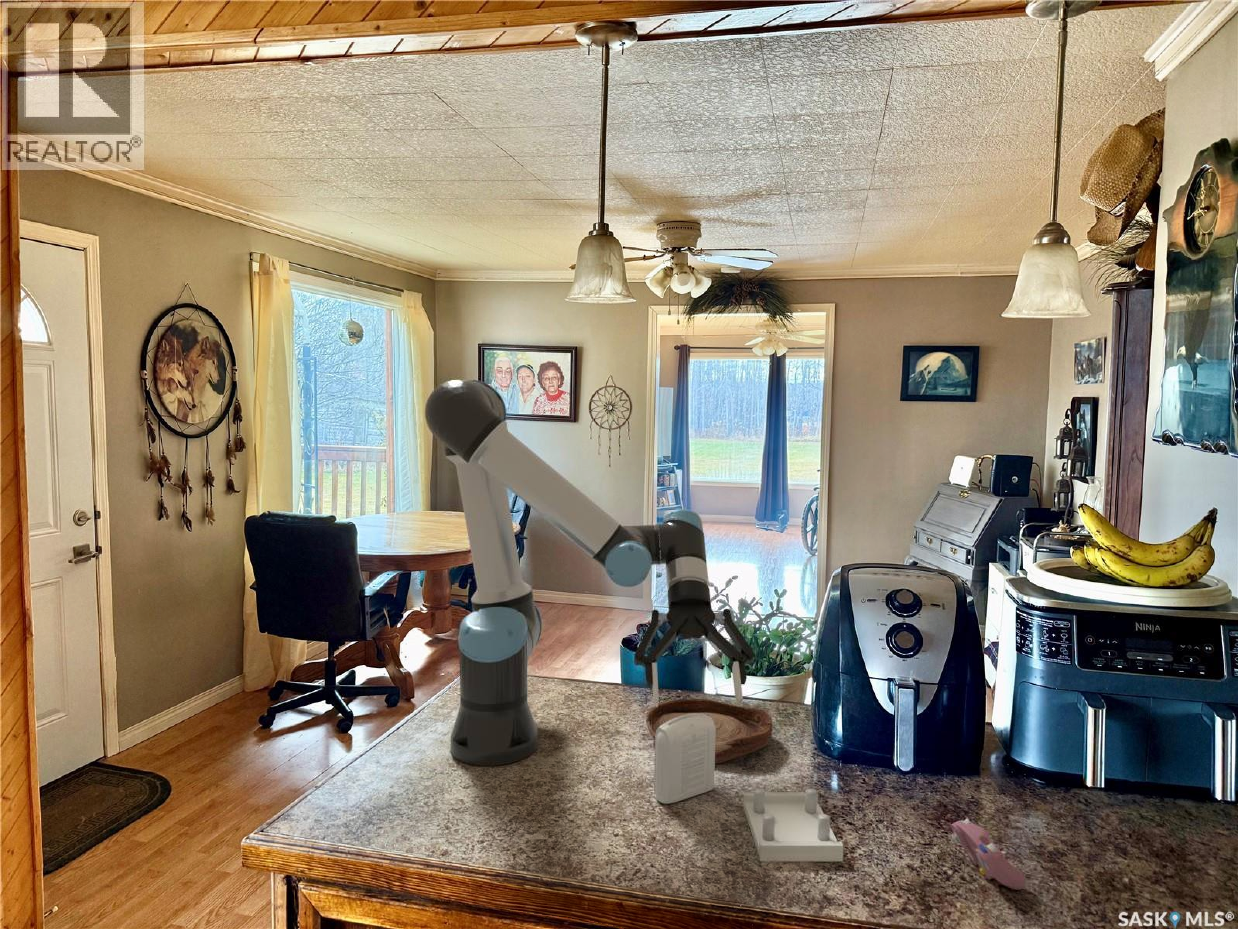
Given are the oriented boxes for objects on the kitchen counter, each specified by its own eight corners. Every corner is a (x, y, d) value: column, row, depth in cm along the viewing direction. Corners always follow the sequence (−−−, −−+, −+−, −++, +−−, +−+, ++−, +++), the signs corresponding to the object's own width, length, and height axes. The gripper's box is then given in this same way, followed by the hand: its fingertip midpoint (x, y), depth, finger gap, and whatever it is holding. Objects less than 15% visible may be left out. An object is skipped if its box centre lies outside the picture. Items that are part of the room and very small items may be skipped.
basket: (635, 759, 134) (635, 731, 134) (657, 712, 154) (657, 688, 153) (769, 774, 129) (769, 745, 129) (774, 724, 149) (775, 699, 148)
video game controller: (959, 859, 108) (939, 817, 107) (988, 843, 108) (968, 801, 107) (1000, 906, 98) (978, 860, 97) (1032, 888, 99) (1010, 842, 98)
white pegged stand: (743, 806, 119) (743, 779, 118) (815, 806, 119) (816, 779, 118) (760, 861, 105) (761, 831, 104) (842, 861, 105) (843, 831, 104)
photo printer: (701, 778, 127) (702, 704, 126) (718, 790, 124) (720, 713, 123) (649, 796, 122) (650, 719, 120) (666, 808, 118) (667, 729, 117)
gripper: (754, 597, 144) (770, 711, 131) (618, 599, 144) (620, 713, 130) (760, 576, 138) (778, 693, 125) (618, 578, 138) (621, 695, 125)
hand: (697, 703), depth 128 cm, fingers open, 13 cm apart
